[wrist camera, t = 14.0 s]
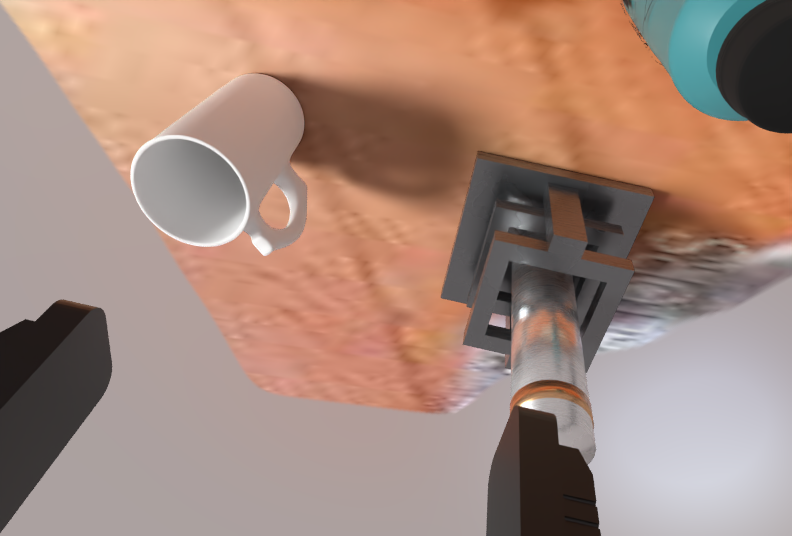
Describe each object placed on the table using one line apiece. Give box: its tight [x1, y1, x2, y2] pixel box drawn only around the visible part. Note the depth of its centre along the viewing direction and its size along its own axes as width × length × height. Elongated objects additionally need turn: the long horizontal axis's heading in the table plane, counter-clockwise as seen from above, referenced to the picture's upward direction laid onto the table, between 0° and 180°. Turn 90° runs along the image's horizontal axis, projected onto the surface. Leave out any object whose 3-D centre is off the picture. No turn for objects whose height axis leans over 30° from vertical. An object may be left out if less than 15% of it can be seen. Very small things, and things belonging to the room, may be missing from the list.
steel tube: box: [510, 230, 596, 465], centre depth 38 cm, size 4×4×18 cm
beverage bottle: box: [621, 0, 792, 133], centre depth 27 cm, size 6×7×20 cm
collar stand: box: [441, 151, 654, 373], centre depth 43 cm, size 12×12×8 cm
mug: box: [131, 73, 307, 256], centre depth 40 cm, size 10×7×12 cm, turn 40°
